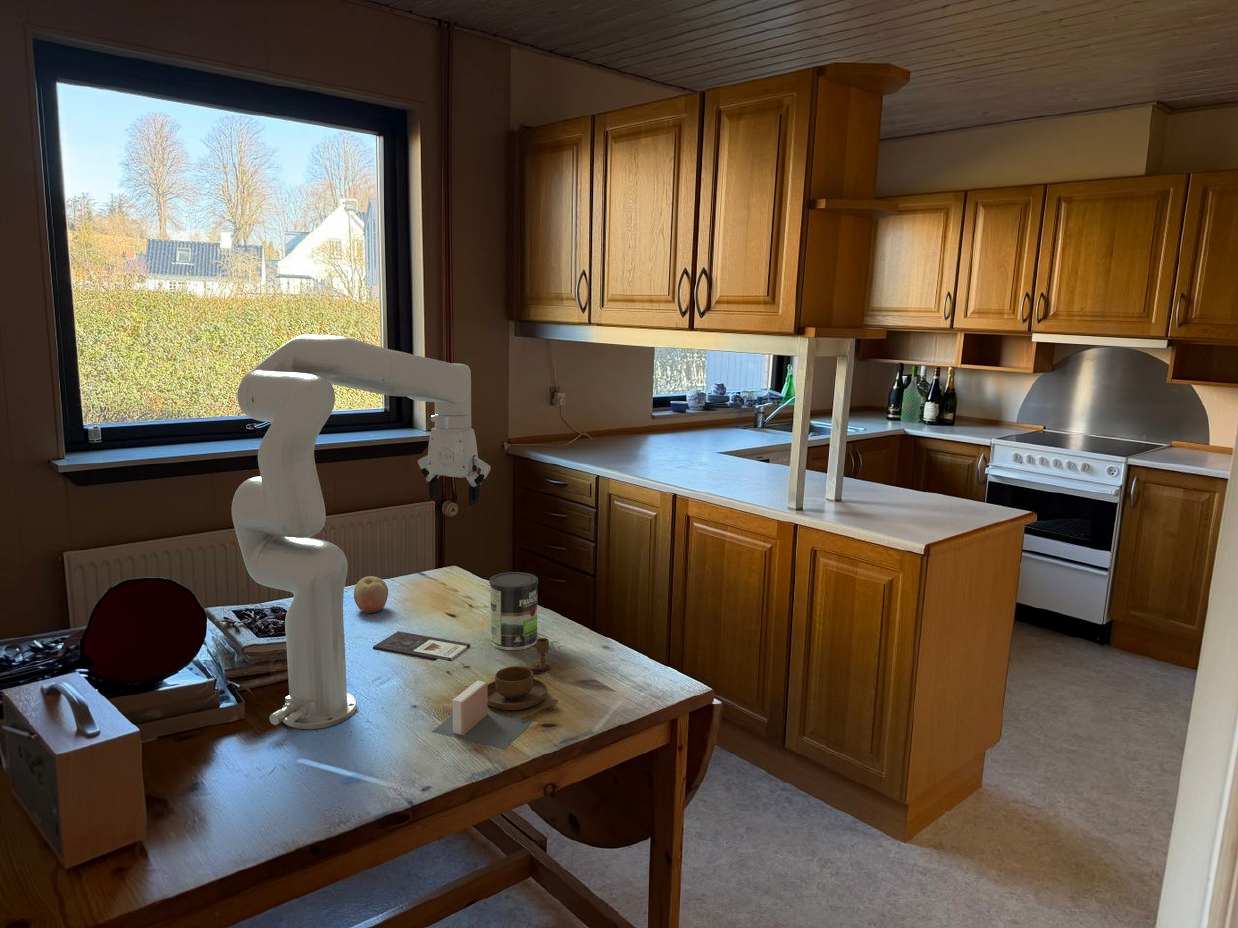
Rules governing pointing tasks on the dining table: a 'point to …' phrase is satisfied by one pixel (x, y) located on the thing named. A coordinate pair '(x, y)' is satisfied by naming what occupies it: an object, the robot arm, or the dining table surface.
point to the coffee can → (513, 610)
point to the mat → (489, 730)
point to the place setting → (520, 686)
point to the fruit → (371, 594)
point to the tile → (470, 707)
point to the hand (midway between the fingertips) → (454, 501)
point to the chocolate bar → (421, 646)
